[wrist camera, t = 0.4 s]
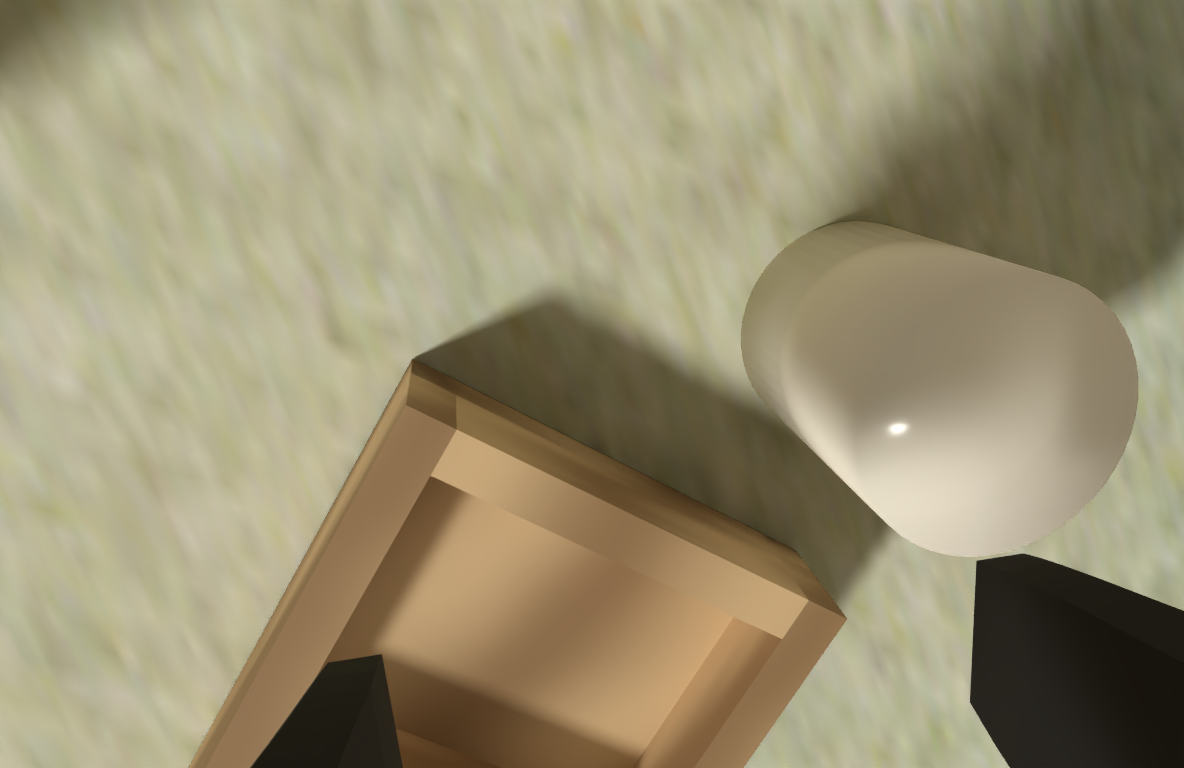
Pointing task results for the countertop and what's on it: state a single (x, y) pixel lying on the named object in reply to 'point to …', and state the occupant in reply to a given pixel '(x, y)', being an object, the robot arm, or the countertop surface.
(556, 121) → the countertop surface
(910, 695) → the countertop surface
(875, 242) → the cream cylinder
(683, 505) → the tray
